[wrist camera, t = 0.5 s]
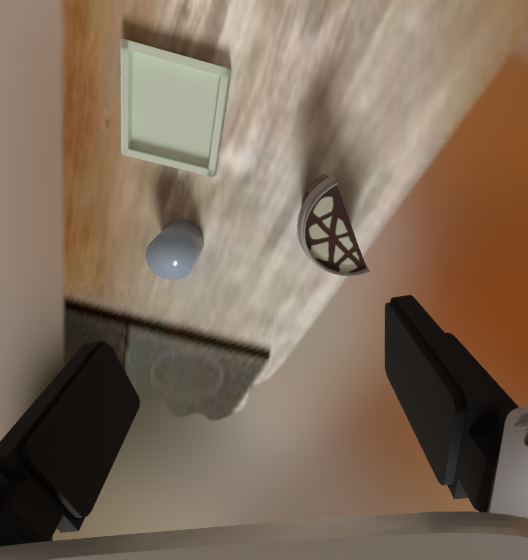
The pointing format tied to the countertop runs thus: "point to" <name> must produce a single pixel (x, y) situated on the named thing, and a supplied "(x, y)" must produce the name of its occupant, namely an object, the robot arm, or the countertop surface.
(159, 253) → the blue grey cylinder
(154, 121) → the tray
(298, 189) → the countertop surface
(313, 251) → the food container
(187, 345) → the countertop surface
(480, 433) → the robot arm
